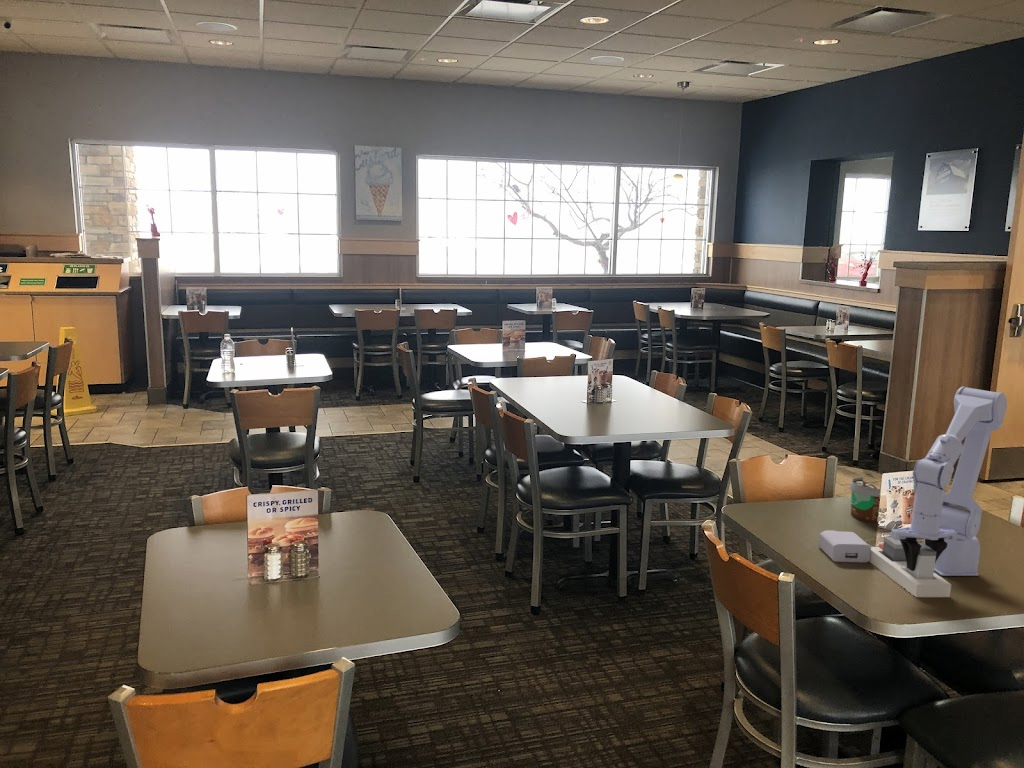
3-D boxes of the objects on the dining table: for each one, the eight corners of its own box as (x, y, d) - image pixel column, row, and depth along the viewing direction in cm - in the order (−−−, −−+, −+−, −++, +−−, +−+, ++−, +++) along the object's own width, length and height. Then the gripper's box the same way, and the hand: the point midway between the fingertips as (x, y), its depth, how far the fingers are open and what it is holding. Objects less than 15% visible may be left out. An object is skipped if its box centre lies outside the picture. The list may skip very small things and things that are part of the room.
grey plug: (919, 572, 191) (923, 543, 190) (932, 581, 186) (936, 551, 185) (904, 572, 191) (908, 543, 190) (917, 581, 186) (921, 551, 185)
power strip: (896, 558, 205) (897, 543, 204) (949, 597, 184) (951, 581, 183) (865, 558, 204) (866, 543, 204) (915, 597, 183) (917, 581, 182)
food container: (838, 509, 241) (841, 476, 239) (858, 509, 241) (862, 476, 240) (860, 524, 229) (864, 489, 227) (881, 524, 229) (885, 489, 228)
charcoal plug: (895, 564, 201) (898, 536, 200) (906, 572, 197) (910, 544, 195) (880, 564, 201) (884, 536, 200) (892, 572, 196) (895, 544, 195)
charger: (844, 540, 217) (869, 563, 202) (809, 539, 216) (832, 562, 202) (846, 523, 216) (871, 544, 201) (810, 522, 215) (834, 543, 201)
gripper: (906, 518, 181) (898, 576, 184) (968, 518, 183) (960, 576, 185) (888, 507, 188) (881, 563, 191) (949, 507, 189) (941, 563, 192)
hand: (919, 569), depth 188 cm, fingers closed on grey plug, 4 cm apart
